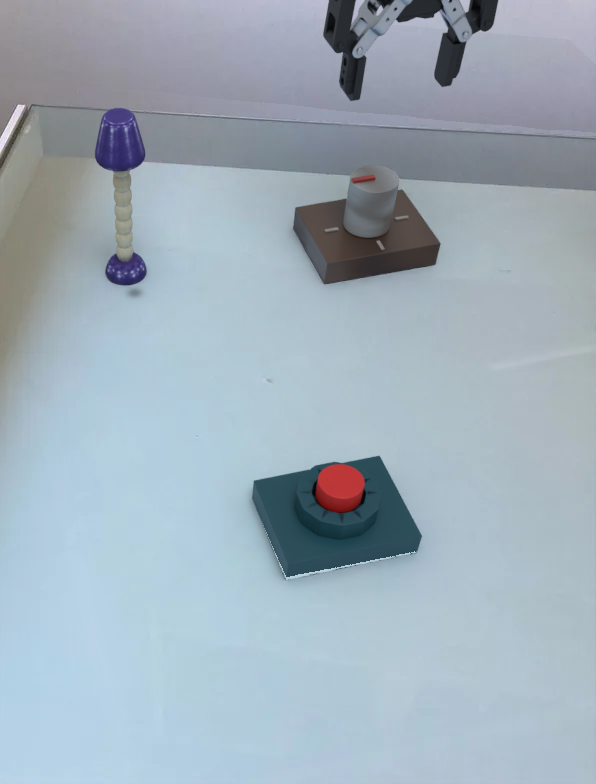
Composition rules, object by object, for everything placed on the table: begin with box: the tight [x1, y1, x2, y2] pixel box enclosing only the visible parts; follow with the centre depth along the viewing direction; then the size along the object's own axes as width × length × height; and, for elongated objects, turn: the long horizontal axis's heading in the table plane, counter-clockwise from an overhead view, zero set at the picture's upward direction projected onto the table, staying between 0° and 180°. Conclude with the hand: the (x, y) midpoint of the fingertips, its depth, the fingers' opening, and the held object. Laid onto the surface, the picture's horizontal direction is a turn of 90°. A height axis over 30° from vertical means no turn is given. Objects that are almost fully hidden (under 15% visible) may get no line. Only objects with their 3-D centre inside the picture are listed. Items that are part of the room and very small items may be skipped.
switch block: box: [251, 455, 423, 577], centre depth 77 cm, size 11×9×4 cm
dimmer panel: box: [292, 188, 442, 285], centre depth 99 cm, size 12×10×3 cm
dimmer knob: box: [343, 164, 400, 238], centre depth 96 cm, size 5×5×5 cm
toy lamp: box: [94, 107, 147, 286], centre depth 92 cm, size 5×5×17 cm
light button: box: [315, 464, 365, 513], centre depth 75 cm, size 4×4×2 cm
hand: (397, 89), depth 84 cm, fingers open, 8 cm apart
